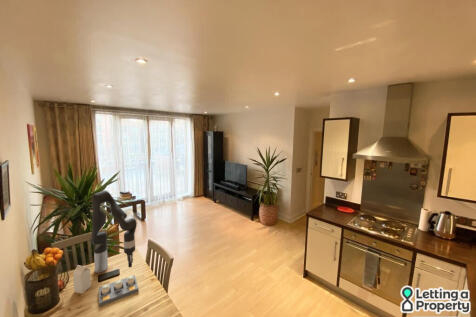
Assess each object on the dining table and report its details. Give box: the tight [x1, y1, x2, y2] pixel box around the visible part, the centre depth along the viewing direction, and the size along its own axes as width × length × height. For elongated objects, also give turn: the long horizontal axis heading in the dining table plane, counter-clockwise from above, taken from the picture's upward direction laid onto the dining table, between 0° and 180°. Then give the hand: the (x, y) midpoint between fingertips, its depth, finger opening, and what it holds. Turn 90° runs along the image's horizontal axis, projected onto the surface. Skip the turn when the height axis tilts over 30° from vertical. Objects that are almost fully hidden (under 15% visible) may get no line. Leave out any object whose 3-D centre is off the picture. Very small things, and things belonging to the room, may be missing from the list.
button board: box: [98, 274, 139, 308], centre depth 146 cm, size 17×24×3 cm
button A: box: [101, 283, 110, 295], centre depth 141 cm, size 5×5×4 cm
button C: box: [126, 275, 134, 285], centre depth 151 cm, size 5×5×4 cm
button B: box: [114, 279, 122, 290], centre depth 146 cm, size 5×5×4 cm
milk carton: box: [72, 264, 92, 294], centre depth 146 cm, size 7×7×19 cm
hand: (130, 266), depth 149 cm, fingers closed
